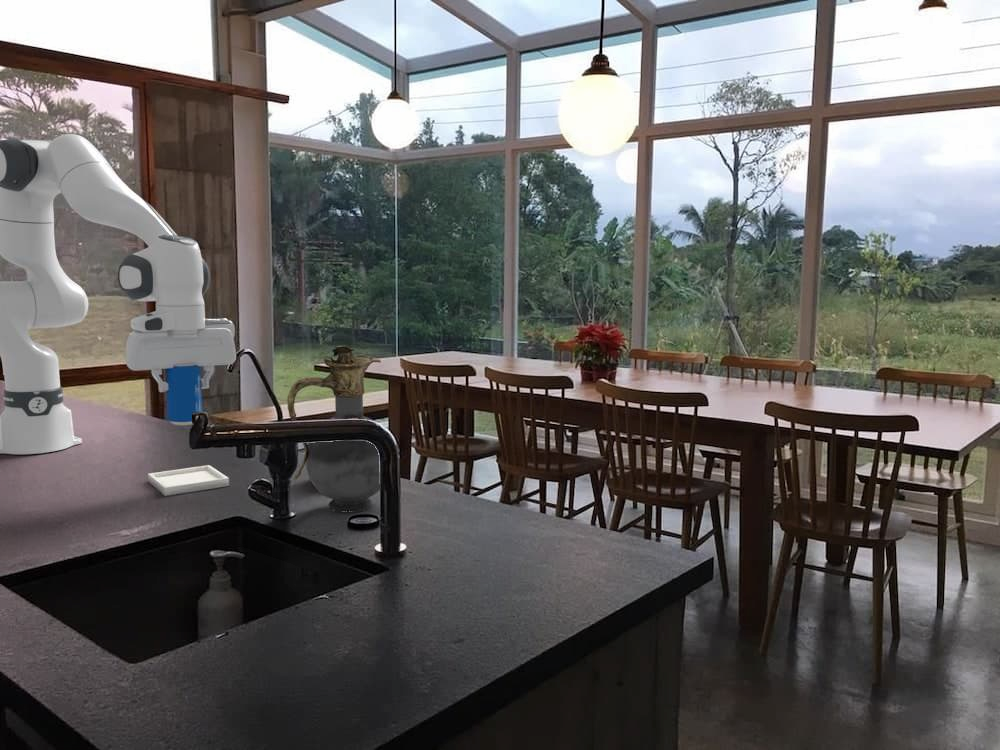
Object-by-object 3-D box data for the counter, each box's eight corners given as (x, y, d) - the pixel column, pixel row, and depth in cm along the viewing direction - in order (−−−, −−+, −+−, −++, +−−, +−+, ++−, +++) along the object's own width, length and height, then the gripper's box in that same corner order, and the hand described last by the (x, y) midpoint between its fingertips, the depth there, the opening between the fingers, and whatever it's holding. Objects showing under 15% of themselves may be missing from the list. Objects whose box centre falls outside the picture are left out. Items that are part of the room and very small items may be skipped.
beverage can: (190, 427, 157) (188, 366, 155) (160, 424, 158) (158, 364, 156) (208, 420, 163) (206, 361, 161) (179, 417, 164) (177, 359, 162)
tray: (148, 481, 163) (148, 473, 163) (209, 472, 171) (209, 465, 170) (165, 495, 154) (164, 487, 154) (229, 485, 161) (228, 477, 161)
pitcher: (402, 508, 148) (401, 345, 144) (299, 525, 138) (295, 350, 134) (378, 493, 157) (377, 339, 153) (281, 508, 147) (276, 344, 143)
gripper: (228, 316, 166) (231, 383, 168) (121, 320, 154) (125, 392, 156) (239, 319, 161) (241, 387, 163) (129, 322, 149) (133, 396, 151)
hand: (184, 389), depth 160 cm, fingers closed on beverage can, 6 cm apart
